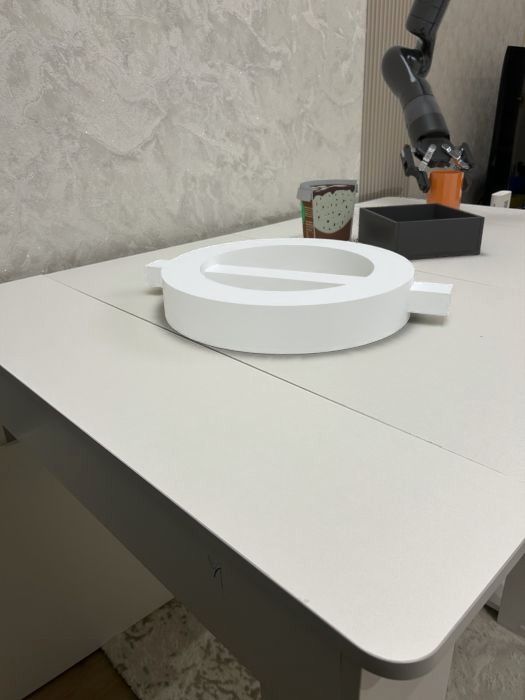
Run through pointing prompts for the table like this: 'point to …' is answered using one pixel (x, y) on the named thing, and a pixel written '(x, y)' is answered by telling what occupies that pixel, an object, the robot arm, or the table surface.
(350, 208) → the food container
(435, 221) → the basket
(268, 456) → the table surface
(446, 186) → the drinking cup
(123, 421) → the table surface
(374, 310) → the ring with crossbar
